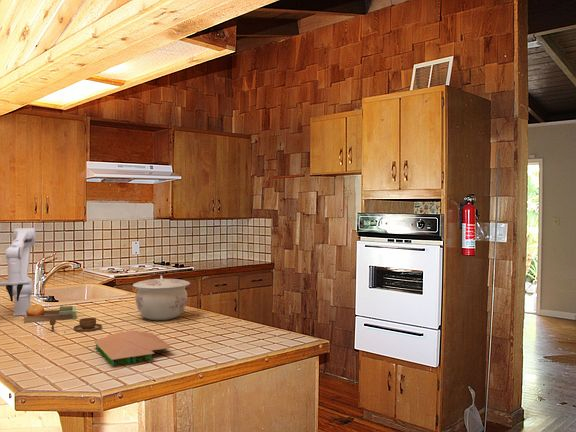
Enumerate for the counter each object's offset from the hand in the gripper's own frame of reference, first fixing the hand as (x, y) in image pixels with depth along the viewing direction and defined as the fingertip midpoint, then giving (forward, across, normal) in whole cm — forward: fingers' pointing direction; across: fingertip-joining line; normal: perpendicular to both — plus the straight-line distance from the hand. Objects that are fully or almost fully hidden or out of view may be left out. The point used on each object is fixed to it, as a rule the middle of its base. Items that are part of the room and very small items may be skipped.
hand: (14, 300), depth 261 cm
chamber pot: (+10, +66, -20) cm, 70 cm away
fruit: (+10, +9, 0) cm, 13 cm away
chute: (+9, +15, 0) cm, 18 cm away
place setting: (+10, +28, -29) cm, 42 cm away
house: (+10, +46, -78) cm, 92 cm away
